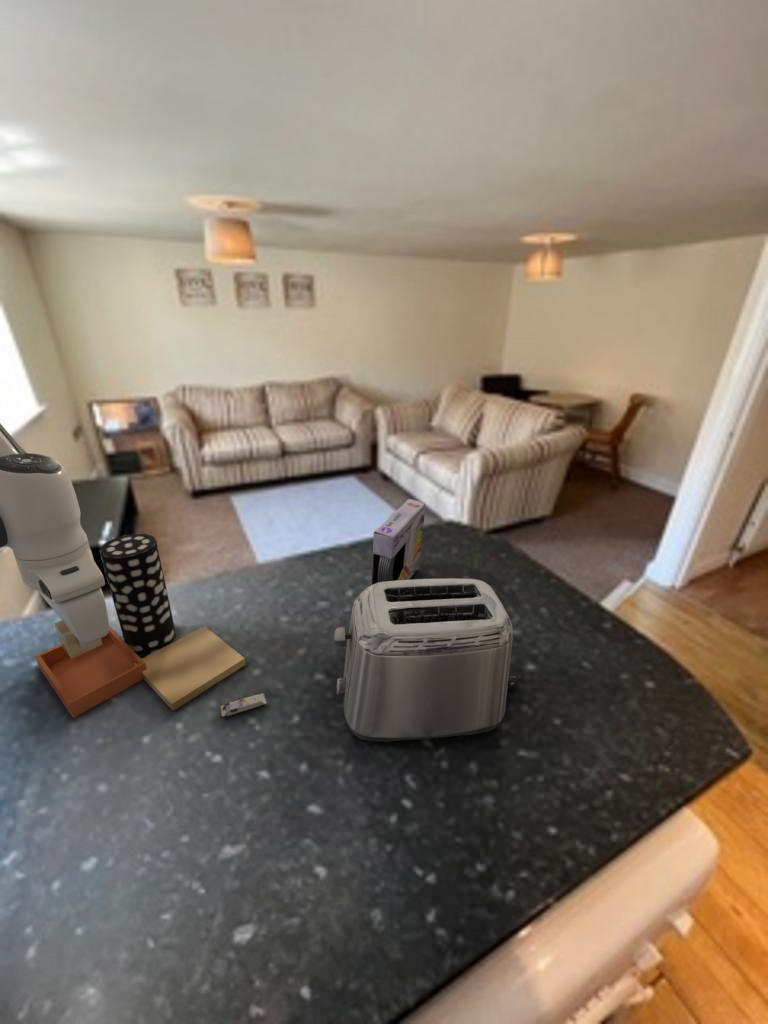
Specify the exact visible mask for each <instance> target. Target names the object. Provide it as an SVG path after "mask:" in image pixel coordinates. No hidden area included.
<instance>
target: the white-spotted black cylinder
mask: <svg viewBox="0 0 768 1024" xmlns="http://www.w3.org/2000/svg"><path fill="white" fill-rule="evenodd" d="M158 546H159V545H158V542H157V538H156V537H155V536H153V535H152V534H148V533H130V534H124V535H121V536H118V537H114V538H112V539H110V540H108V541H106V542H104V544H103V545H101V547H100V548H99V554H100V558H101V561H102V566H103V569H104V573H105V576H106V580H107V583H108V584H107V585H108V587H109V591H110V593H111V598H112V601H113V606H114V609H115V614H116V615H117V620H118V624H119V628H120V631H121V635H122V639H123V640H124V641H125V643H126V644H127V645H128V646H129V647H130V648H131V649H132V650H133V651H134V652H135V653H136V654H137V655H138V656H139V657H140V656H141V657H143V656H144V657H146V656H148V655H150V654H152V653H154V652H156V651H157V650H159V649H161V648H163V647H165V646H167V645H169V644H171V643H173V642H175V641H176V637H177V631H176V627H175V621H174V617H173V612H172V607H171V604H170V599H169V594H168V589H167V585H166V579H165V576H164V570H163V566H162V561H161V556H160V552H159V547H158Z"/></svg>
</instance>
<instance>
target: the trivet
mask: <svg viewBox="0 0 768 1024" xmlns="http://www.w3.org/2000/svg"><path fill="white" fill-rule="evenodd" d="M141 659H142V660H143V661H144V662H145V663H146V667H147V669H146V670H145V671H143V672H142V676H143V679H142V680H144V681H145V683H147V685H148V686H149V687H150V688H151V689H152V690H153V691H154V692H155V693H156V694H157V696H158V697H159V698H160V699H161V700H162V701H164V703H165V704H166V705H167V707H169V708H170V709H171V711H173V712H174V711H176V710H177V709H179V708H181V707H182V706H183V705H185V704H187V703H188V702H190V701H191V700H193V699H194V698H196V697H198V696H199V695H201V694H202V693H204V692H206V691H207V690H208V689H210V688H211V687H213V686H215V685H216V684H218V683H219V682H221V681H223V680H224V679H226V678H228V677H229V676H230V675H232V674H234V673H235V672H237V671H238V670H240V669H242V668H243V667H245V666H246V664H247V663H246V658H245V657H244V656H243V655H242V654H241V653H239V652H238V651H236V649H234V648H233V647H231V646H230V645H229V644H228V643H226V642H225V641H224V640H223V639H221V638H220V637H219V636H218V635H217V634H215V633H214V632H213V631H211V630H210V629H209V628H208V627H206V626H205V625H203V626H201V627H200V628H198V629H196V630H195V629H194V631H192V632H190V633H188V634H186V635H184V636H182V637H179V639H175V640H174V641H173V642H172V643H171V644H169V645H167V646H165V647H163V648H161V649H159V650H157V651H156V652H154V653H152V654H150V655H145V656H144V657H142V658H141ZM133 664H134V667H135V666H136V665H137V664H136V663H133Z"/></svg>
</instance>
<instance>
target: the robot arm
mask: <svg viewBox="0 0 768 1024" xmlns="http://www.w3.org/2000/svg"><path fill="white" fill-rule="evenodd" d="M81 514H82V512H81V508H80V505H79V500H78V497H77V494H76V491H75V488H74V485H73V482H72V479H71V477H70V476H69V473H68V471H67V470H66V469H65V467H64V466H63V465H62V463H60V461H58V460H56V458H53V457H50V456H47V455H45V454H40V453H31V452H27V451H26V450H25V449H24V448H23V447H22V446H21V445H20V444H19V443H18V442H17V441H16V440H15V439H14V437H12V435H11V434H10V433H9V432H8V431H7V429H6V428H5V427H4V426H3V424H2V423H0V549H2V548H4V547H5V548H6V547H7V548H10V549H11V550H12V553H13V556H14V560H15V562H16V565H17V567H18V570H19V573H20V576H21V579H22V582H23V584H24V585H26V586H27V587H29V588H33V589H34V590H36V591H38V593H39V595H41V597H42V598H43V599H44V600H45V601H46V603H47V604H48V605H49V606H50V608H51V609H52V610H53V612H55V614H56V615H57V617H59V619H60V621H63V622H64V623H65V624H66V626H67V627H68V628H69V629H70V630H71V632H72V633H73V634H74V635H75V636H76V639H77V643H78V644H79V646H80V647H81V648H82V649H84V648H87V647H89V646H91V645H93V643H94V641H96V640H98V639H100V638H103V637H105V636H106V635H107V634H108V632H109V626H110V621H109V615H108V608H107V603H106V599H105V596H104V592H103V590H102V587H104V586H105V585H106V582H105V577H104V575H103V573H102V571H101V569H100V568H99V566H98V565H97V563H96V561H95V558H94V554H93V551H92V549H91V546H90V543H89V539H88V535H87V533H86V531H85V530H84V529H83V527H82V524H81V516H82V515H81Z"/></svg>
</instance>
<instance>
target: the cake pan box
mask: <svg viewBox="0 0 768 1024" xmlns="http://www.w3.org/2000/svg"><path fill="white" fill-rule="evenodd" d="M426 505H427V504H426V502H422V501H419V500H414V499H411V498H408V499H407V500H406V501H405V502H404V503H403V504H402V505H401V506H400V507H399V508H398V509H395V511H394V512H392V513H391V514H390V515H389V516H388V517H387V519H386V520H385V521H384V522H383V523H381V525H380V526H379V527H378V528H376V529H374V531H373V541H372V542H373V543H372V565H371V566H372V567H371V569H372V570H371V586H372V585H374V584H376V583H380V582H387V581H398V580H411V578H412V577H413V576H414V574H415V573H416V572H417V570H418V569H419V568H420V563H421V554H422V545H423V544H422V543H423V532H424V524H425V517H426V516H425V515H426V514H425V513H426ZM418 565H419V566H418ZM417 566H418V568H417ZM416 568H417V569H416ZM414 571H415V572H414ZM413 572H414V573H413Z"/></svg>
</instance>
